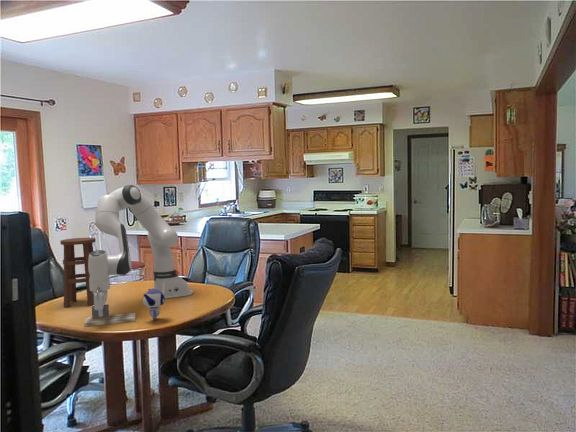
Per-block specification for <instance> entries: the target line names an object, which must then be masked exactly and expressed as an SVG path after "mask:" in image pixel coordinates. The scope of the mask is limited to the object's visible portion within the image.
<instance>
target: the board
mask: <svg viewBox="0 0 576 432" xmlns="http://www.w3.org/2000/svg"><path fill="white" fill-rule="evenodd" d="M136 317H137V316H136V312H129V313H127V312H126V313H120V314H119V313H118V314H117V313H116V314H109V319H102V320H92V316H89V317H86V319H85V320H84V323H83V326H84V327H93V326H103V325H113V324H121V323H123V324H124V323H132V322H136Z"/></svg>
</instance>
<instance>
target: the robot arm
mask: <svg viewBox="0 0 576 432" xmlns="http://www.w3.org/2000/svg"><path fill="white" fill-rule="evenodd" d="M128 208H129V209H130V212H131V213H132V214H133V216H134V217H135V218H136V220H137V221H138V223H139V224H140V225H141V226H142V227H143V228H144V229H145V230H146V231H147V232H148V233H147V240H148V241H149V244H150V249H151V253H152V259H153V281H154V283H153V289H158V290H160V291H161V292H162V293H163V295H164V297H165V300H166V299H171V298H179V297H185V296H187V297H188V296H191V295H193V293H194V292H193V289H191V288H190V286H189V283H188V282H187V281H186V280H185V279H183V278H182V277H180V276H179V274H180V273H179V272H180V271H178V270H177V269H175V260H174V255H173V253H172V250H171V247H174V246H175V245H176V244H177V243H178V241H179V235H178V232H176V231H175V230H174V229H173V228H172V227H171V226H170V224H169V223H168V222H167V221H166V220H165V219H164V218H163V217H162V216H161V214H159V212H158V211H157V210H156V208H155V207H154V205H153V204H152V202H151V201H150V200H149V199H148V198H147V196H146V195H145V194H143V192H141V190H140V189H139V188H138V187H137V186H135V185H133V184H129V185H124V186H123V187H120V188H119V187H118V188H117V189H115V190H114V191H111V192H109V193H107V194H103V195H101V196H100V197H99V199H98V202H97V205H96V210H95V226H96V228H97V230H99V231H100V232H102V233H104V234H107V235H110V236H112V237H115V238H117V239H118V248H119V253H118V254H107V251H106V250H104V249H103V250H102V249H97V250H93V251H92V252H91V253H90V254H89V259H88V271H89V274H90V278H89V286H90V291H93V294H94V309H95V310H98V313H99V317H102V316H103V307H104V305H106V303H107V300H108V292H109V291H108V290H110V289H111V283H110V276H115V275H116V276H117V275H118V276H126V275H127V274H129V273H130V271H132V268H133V263H132V258H131V254H130V250H129V249H130V247H129V241H128V235H127V229H126V228H125V225H124V224H123V223H121V222H120V211H123V210H127V209H128Z"/></svg>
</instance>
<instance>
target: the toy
mask: <svg viewBox="0 0 576 432" xmlns="http://www.w3.org/2000/svg"><path fill="white" fill-rule="evenodd" d="M142 298H143V299H142V303H143V305H144V306H145V307H147V308H148V313H149V315H150V316H151V318H152V320H153V321H156V320H157V319H158V318H157V317H158V316H159V315H160V313H161V306H163V305H164V303H165V302H166V299H165V297H164V295H163V293H162V292H161V291H160V290H158V289H154V288H148V290H147V291H146V292H145V293H143V297H142Z"/></svg>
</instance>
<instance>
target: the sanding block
mask: <svg viewBox="0 0 576 432" xmlns="http://www.w3.org/2000/svg"><path fill="white" fill-rule="evenodd" d="M109 307H110V306H109V304H105V305H104V307H103V316H102V317H99V313H98V310H95V309H94V306H91V317H92V320H102V319H109V315H110V308H109Z"/></svg>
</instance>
